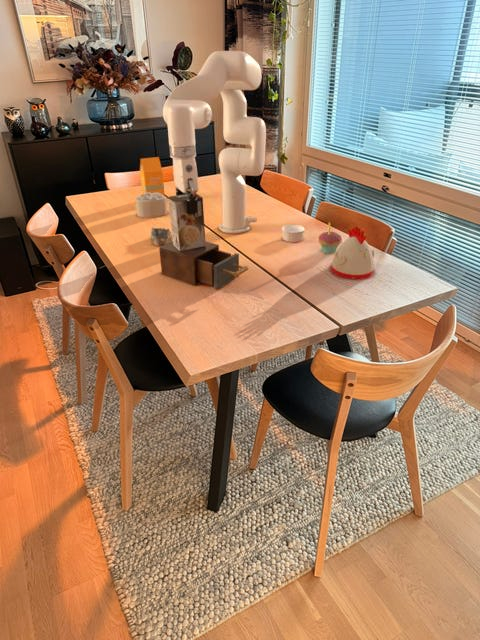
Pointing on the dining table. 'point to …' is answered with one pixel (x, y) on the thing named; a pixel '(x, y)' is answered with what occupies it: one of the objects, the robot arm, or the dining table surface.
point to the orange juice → (151, 175)
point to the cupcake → (329, 241)
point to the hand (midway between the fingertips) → (187, 208)
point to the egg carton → (160, 236)
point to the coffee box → (186, 223)
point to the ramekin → (292, 233)
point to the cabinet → (182, 261)
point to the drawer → (218, 268)
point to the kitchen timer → (353, 257)
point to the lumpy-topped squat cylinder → (151, 205)
